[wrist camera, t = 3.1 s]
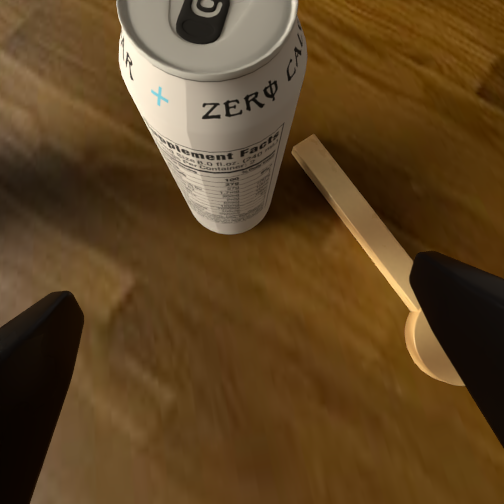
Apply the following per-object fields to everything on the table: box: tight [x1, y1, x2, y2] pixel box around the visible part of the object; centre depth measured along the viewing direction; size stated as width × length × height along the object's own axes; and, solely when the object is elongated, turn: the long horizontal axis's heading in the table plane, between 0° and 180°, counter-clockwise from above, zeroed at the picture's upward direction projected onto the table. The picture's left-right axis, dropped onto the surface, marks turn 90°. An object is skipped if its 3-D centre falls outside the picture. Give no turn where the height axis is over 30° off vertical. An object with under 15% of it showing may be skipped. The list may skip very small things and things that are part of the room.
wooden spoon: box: [292, 134, 465, 386], centre depth 22 cm, size 20×6×1 cm, turn 34°
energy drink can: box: [116, 0, 307, 234], centre depth 15 cm, size 6×6×15 cm
